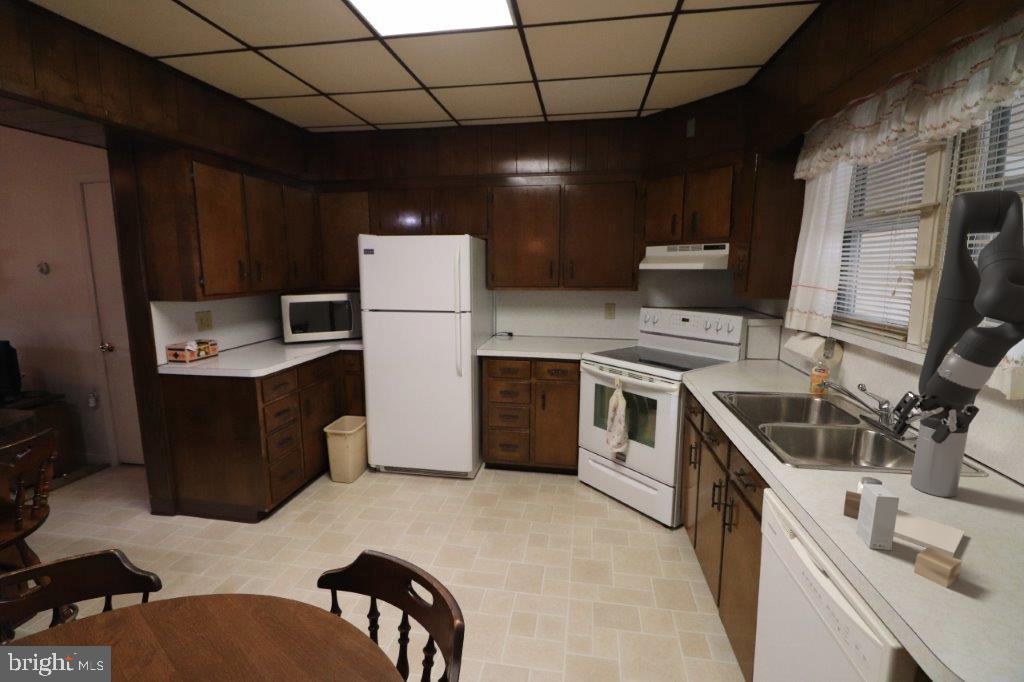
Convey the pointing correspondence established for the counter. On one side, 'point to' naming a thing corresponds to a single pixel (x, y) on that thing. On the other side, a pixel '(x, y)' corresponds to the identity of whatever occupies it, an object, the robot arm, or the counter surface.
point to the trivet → (927, 533)
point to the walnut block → (852, 504)
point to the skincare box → (877, 516)
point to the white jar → (868, 481)
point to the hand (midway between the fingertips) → (915, 437)
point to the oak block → (937, 567)
